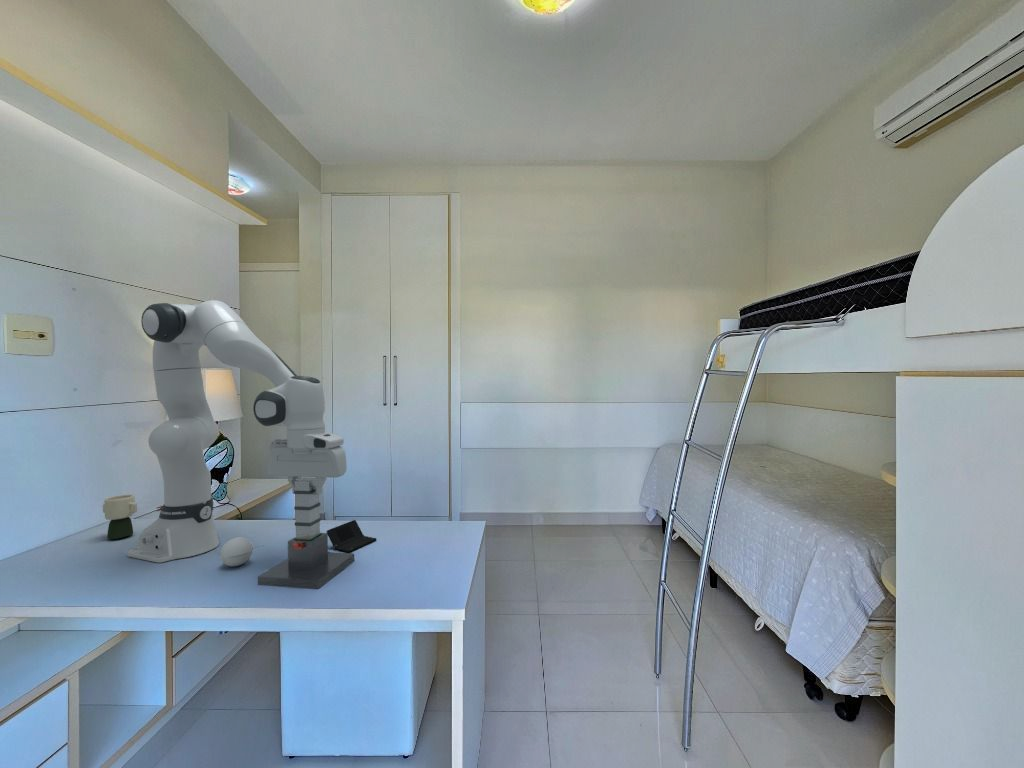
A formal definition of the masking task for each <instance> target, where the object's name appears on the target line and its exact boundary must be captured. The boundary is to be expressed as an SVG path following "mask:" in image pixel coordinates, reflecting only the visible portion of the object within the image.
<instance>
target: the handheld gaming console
mask: <svg viewBox="0 0 1024 768" xmlns="http://www.w3.org/2000/svg"><path fill="white" fill-rule="evenodd" d="M325 533H328V540H329V541H330V543H331V545H332V546H333V552H334V551H336V552H338V553H354V552H356V551H358V550H360V549H363V548H364V547H366V546H368V545H371V544H372V543H375V542H377V538H376V537H371V536H366V535H365V534H364V533H363V532H362V530H361V528H360V526H359V524H358V522H357V521H356V519H353V520H350V521H348V522H346V523H343V524H340V525H337V526H335V527H333V528H330V529H328V530H326V532H325Z"/></svg>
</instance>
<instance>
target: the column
mask: <svg viewBox="0 0 1024 768" xmlns="http://www.w3.org/2000/svg"><path fill="white" fill-rule="evenodd" d="M296 480H297V481H295V491H294V494H293V495H295V496H294V499H295V500H294V504H295V505H294V508H293V509H294V511H295V516H294V517H295V522H294V526H295V537H296V538H295V537H294V538H295V540H300V541H312V540H314V539H315V538H317V537H319V536H320V535H321V533H322V532H321V523H320V522H321V513H320V511H321V510H320V507H321V502H320V494H319V495H314V494H313V488H314V487H316V486H317V484H318V481H316V477H303V478H302V477H301V479H299V478H298V479H296Z"/></svg>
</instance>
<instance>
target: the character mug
mask: <svg viewBox="0 0 1024 768" xmlns="http://www.w3.org/2000/svg"><path fill="white" fill-rule="evenodd" d="M137 512H138V503H137V502H135V495H134V494H129V493H128V494H120V495H113V496H109V497H106V498H105V499H104V503H102V513H104V518H105V520H109V523H108V528H107V536H106V538H107V540H117V539H122V538H127V537H128V536H132V535H134V527H133V524H132V519H131V516H133V515H134V514H135V513H137Z"/></svg>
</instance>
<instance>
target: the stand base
mask: <svg viewBox="0 0 1024 768" xmlns="http://www.w3.org/2000/svg"><path fill="white" fill-rule="evenodd" d="M320 533H321V535H320V536H319V537H317V538H315V539H314V540H312V541H300V540H295V538H296V536H295V537H293V538H291V539H290V540H288V541H287V558H286V559H284V560H283V561H281V562H279V563H278V564H276V565H274V566H273V567H271V568H269V569H267V570H266V571H264V572H262V573H261V574H260V575H258V576H257V585H258V586H269V587H283V588H285V587H286V588H299V589H311V590H312V589H313V590H319V589H321V588H322V587H323V586H324V585H325V584H327V583H328V582H329V581H330V580H332V579H334V578H335V577H336V576H337V575H338V574H340V573H341V572H342V571H344V570H345V569H346V568H348V566H350V565H351V564H353V563H354V562H355V553H354V552H352V553H344V552H334V551H333V552H330V551H329V544H328V543H329V541H328V540H329V537H328V533H327V532H320Z"/></svg>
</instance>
